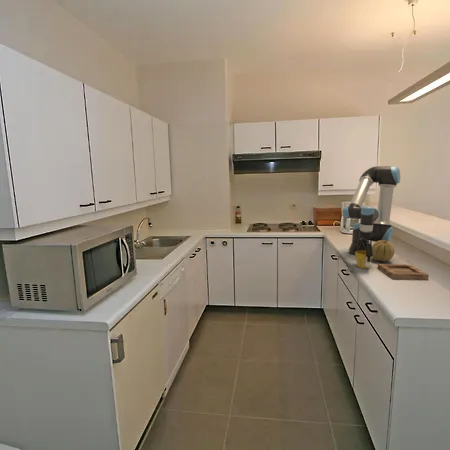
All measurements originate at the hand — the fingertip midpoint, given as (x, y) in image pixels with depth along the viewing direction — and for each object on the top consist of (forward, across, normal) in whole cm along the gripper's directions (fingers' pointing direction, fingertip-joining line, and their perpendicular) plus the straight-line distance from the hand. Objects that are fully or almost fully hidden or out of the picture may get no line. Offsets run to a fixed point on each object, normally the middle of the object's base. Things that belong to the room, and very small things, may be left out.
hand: (363, 263), depth 207 cm
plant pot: (+3, 0, 0) cm, 3 cm away
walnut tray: (+2, +13, +18) cm, 22 cm away
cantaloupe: (+2, -14, +18) cm, 23 cm away
